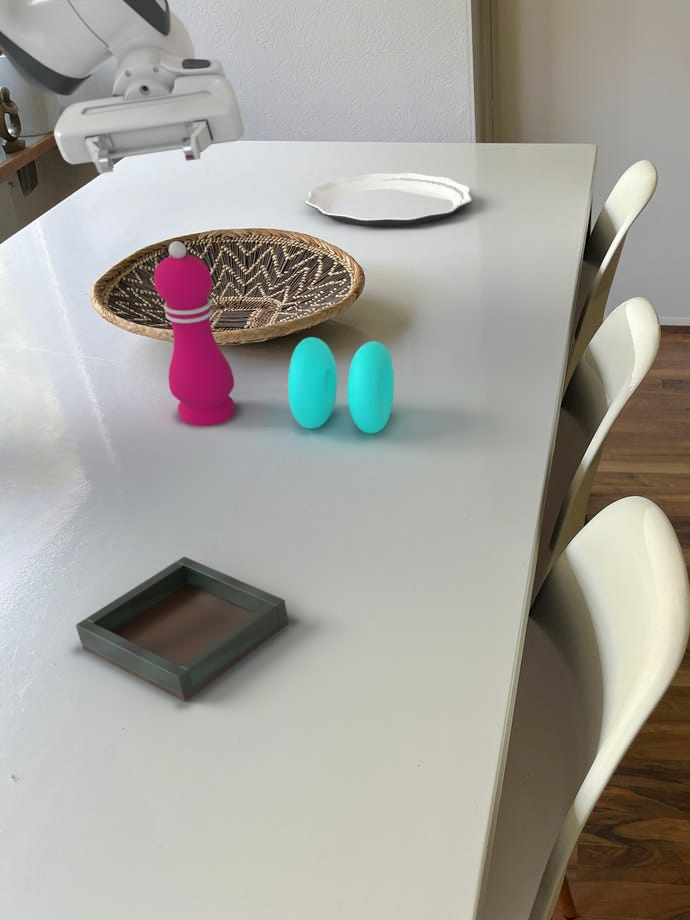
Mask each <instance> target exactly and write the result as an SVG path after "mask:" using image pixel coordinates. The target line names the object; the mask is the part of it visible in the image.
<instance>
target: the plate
mask: <svg viewBox="0 0 690 920" xmlns="http://www.w3.org/2000/svg"><path fill="white" fill-rule="evenodd" d="M392 178H394V179H395V178H397V179H400V178H405V179H406V178H411V179H420V180H429V181H435V182H441V183H445V184H447V185H451V186H454V187H456V188H457V189H459V190H460V191H462V192H463V194H464V195H463V196H464V199H463V200H462V198H461V196H460V194H459V193H457V192H456V191H454V190H453V189H450V188H447V187H445V186H442V185H437V184H432V183H427V182H418V181H403V180H387V181H381V180H386V179H392ZM388 189H389V190H394V191H398V192H399V191H400V192H403V193H404V192H405V193H408V194H415V195H420V196H426V197H430V198H436V199H441V200H445V201H446V200H447V201H451V204H452V207H451V209H449V210H447V211H441V212H433V213H426V214H423V215H419V216H415V217H407V218H405V217H403V218H402V217H378V218H363V217H356V216H352V215H348V214H339V213H331V212H329V209H328V206H329V205H330V203H331V202H333V201H335V200H336V199H338V198H341V197H343V196H346V195H349V194H355V193H359V192H365V191H373V190H388ZM471 191H472V189H471V188H470V187H469V186H467V185H464V184H461V183H458V182H456V181H455V180H452V179H451V178H449V177H445V176H444V177H443V176H434V175H426V174H422V173H416V172H415V173H414V172H399V173H377V172H376V173H367V174H362V175H356V176H351V177H342V178H341V177H340V178H336V179H333V180H330V181H329V182H327V183H325V184H323V185H319V186H317V187H314V188H311V190H309V191H308V193H309V196H308V198H307V199H306V201H305V204H306V205H307V206H309V207H311V208H312V209H313V208H314V209H315V210H318V211H319V212H320V213H321V214H322V215H324V216H325V217H326V216H327V217H328V218H331V219H333V220H335V221H338V222H341V223H345V224H350V225H356V226H364V227H365V226H366V227H385V228H386V227H387V228H388V227H390V228H391V227H406V226H413V225H421V224H426V223H430V222H435V221H438V220H441V219H443V218H447V217H448V216H451V215H452V214H454V213H455V212H457V211H458V210H461V209H462V208H464V207H465V206H467V205H470V204H471V203H472V202H473V199H472V198H473V197H472V196H471V195H470V194H471ZM461 200H462V202H461ZM460 202H461V203H460ZM461 207H462V208H461Z"/></svg>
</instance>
